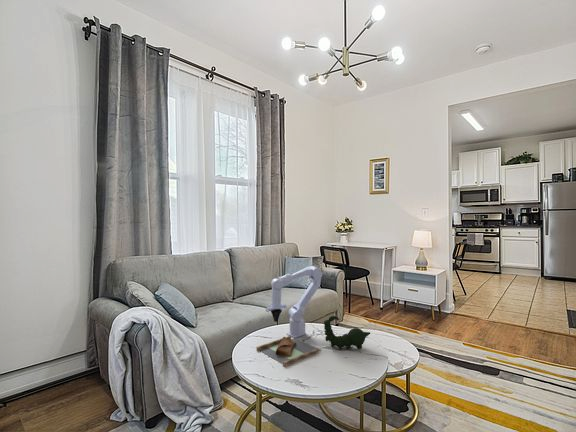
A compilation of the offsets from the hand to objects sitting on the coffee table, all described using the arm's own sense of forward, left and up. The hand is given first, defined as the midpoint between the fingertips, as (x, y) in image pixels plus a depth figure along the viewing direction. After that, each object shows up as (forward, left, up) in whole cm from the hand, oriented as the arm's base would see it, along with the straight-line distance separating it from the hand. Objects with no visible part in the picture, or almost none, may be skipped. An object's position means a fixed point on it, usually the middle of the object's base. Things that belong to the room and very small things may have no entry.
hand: (275, 321), depth 195 cm
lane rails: (+7, +20, -10) cm, 23 cm away
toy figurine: (-21, +38, -10) cm, 44 cm away
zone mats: (+5, +20, -10) cm, 23 cm away
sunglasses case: (+6, +17, -10) cm, 21 cm away
